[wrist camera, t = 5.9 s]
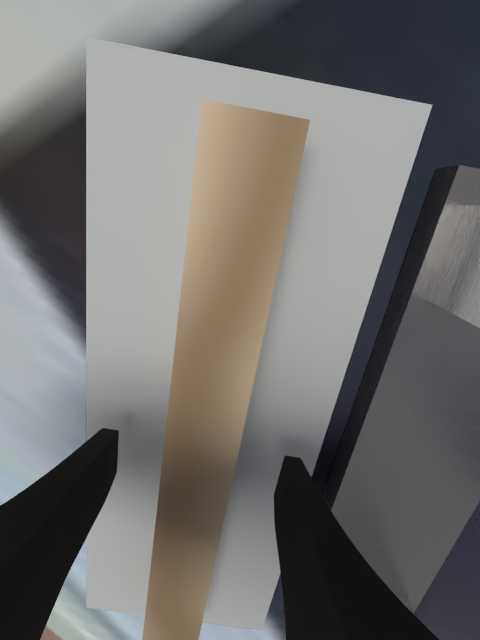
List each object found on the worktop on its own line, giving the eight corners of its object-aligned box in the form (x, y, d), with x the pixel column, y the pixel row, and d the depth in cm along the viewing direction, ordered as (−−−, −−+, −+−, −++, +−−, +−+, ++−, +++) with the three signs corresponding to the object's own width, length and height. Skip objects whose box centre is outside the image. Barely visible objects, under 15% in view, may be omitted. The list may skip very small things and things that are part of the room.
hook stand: (611, 201, 11) (1215, 203, 4) (385, 619, 18) (461, 849, 12) (436, 168, 10) (767, 112, 4) (283, 606, 18) (303, 833, 12)
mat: (423, 109, 10) (432, 104, 9) (261, 619, 19) (261, 630, 18) (94, 45, 9) (86, 37, 9) (90, 597, 18) (86, 607, 18)
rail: (294, 139, 10) (310, 119, 7) (199, 605, 18) (192, 667, 15) (213, 123, 10) (201, 98, 7) (154, 600, 18) (140, 661, 15)
